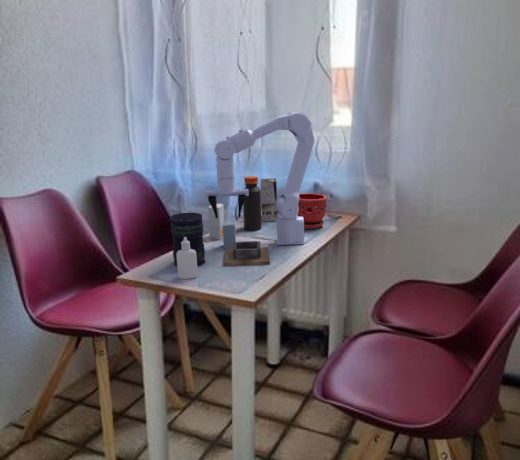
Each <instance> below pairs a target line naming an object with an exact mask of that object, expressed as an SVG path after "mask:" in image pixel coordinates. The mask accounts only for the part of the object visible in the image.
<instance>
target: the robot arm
mask: <svg viewBox="0 0 520 460" xmlns="http://www.w3.org/2000/svg"><path fill="white" fill-rule="evenodd" d="M276 131H289V132H290V133H291V134H292V135H293V137H294V138H295V140H296V141H297V144H296V145H297V146H296V148H295V152H294V156H293V159H292V162H291V164H290V165H291V166H290V169H289V172H288V175H287V179H286V183H285V185H284V188H283V189H282V191H281V193H280V195H279V197H277V201H276V208H277V221H276V236H275V242H276V245H277V246H286V245H304V244H305V229H304V219H303V217H299V216H298V215H297V214H298V212H299V207H298V203H299V194H300V190H301V187H302V183H303V180H304V177H305V174H306V170H307V167H308V164H309V161H310V158H311V153H312V151H313V147H314V144H315V137H314V133H313V128H312V122H311V120H310V119H309V117H308V116H307V115H306V114H305V113H303V112H297V111H290V112H288V113H285V114H281V115H279V116H277V117H275V118H272V119H271V120H269V121H267V122H265V123H263V124H262V125H260V126H258V127H256V128H254V129H252V130H250V129H247V128H245V129H244V128H241V129H239V130H238V132H237V133H235V134H233V135H231V136H229V135H227V136H226V137H225V139H221V140H219V141H217V143H215V145H214V153H215V154H216V158H215V159H216V164H215V165H216V178H217V179H216V180H217V189H212V190H204V198H207V200H208V202H209V205H211V206H212V208H213V211H214V214H215V218H218V212H217V204H218V203H217V197H237V201H238V202H237V203H238V206H237V207H238V209H237V210H238V212H237V213H238V218H241V215H242V211H243V210H242V209H243V203H244V201H245V196H249V191H248V189H244V188H236V181H235V163H234V154H239V153H240V152H241V153H242V151H244V150H247V149H248V148H250V147H253V146H254V145H255V143H256V140H258V139H261V138H262V137H265V136H267V135H269V134H272V133H274V132H276Z"/></svg>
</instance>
